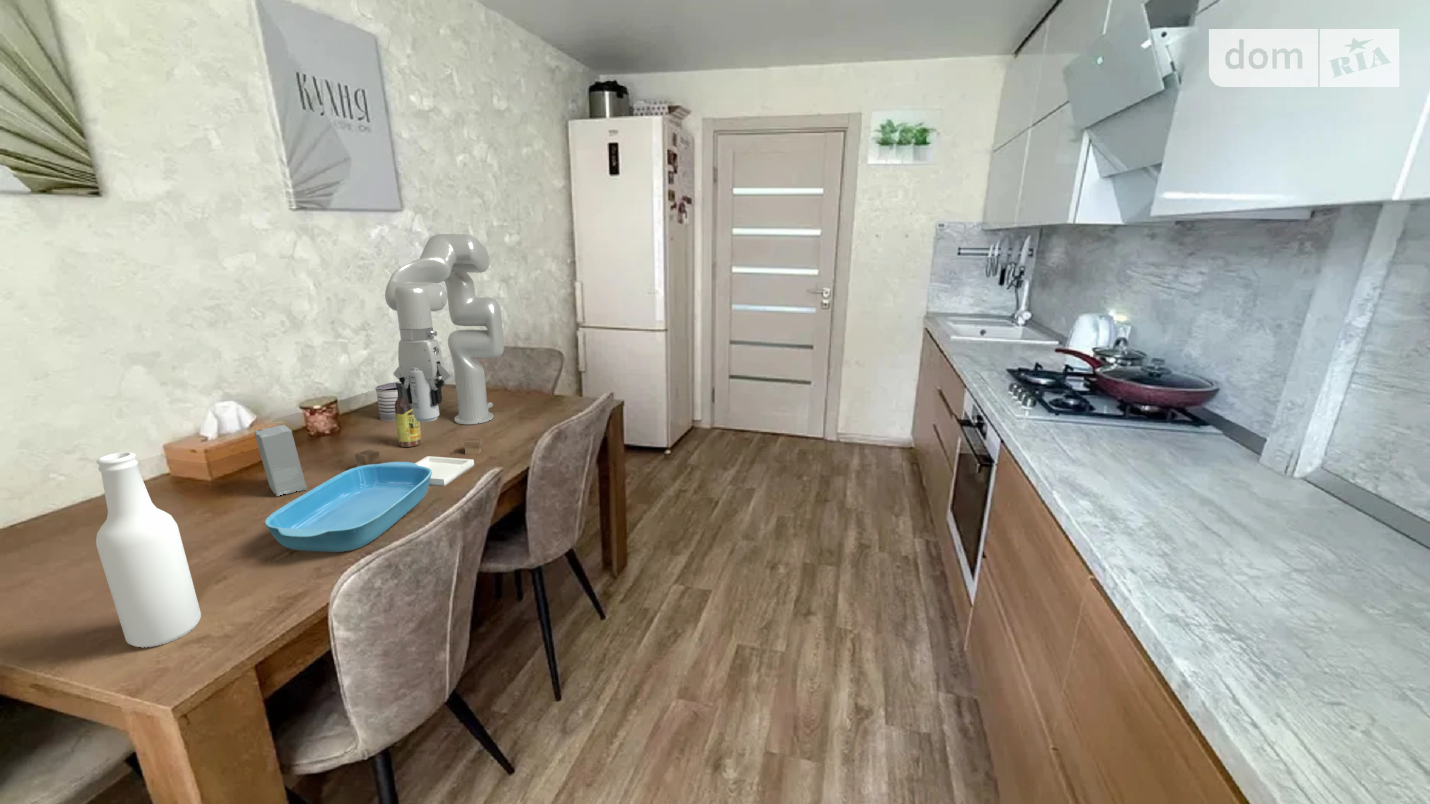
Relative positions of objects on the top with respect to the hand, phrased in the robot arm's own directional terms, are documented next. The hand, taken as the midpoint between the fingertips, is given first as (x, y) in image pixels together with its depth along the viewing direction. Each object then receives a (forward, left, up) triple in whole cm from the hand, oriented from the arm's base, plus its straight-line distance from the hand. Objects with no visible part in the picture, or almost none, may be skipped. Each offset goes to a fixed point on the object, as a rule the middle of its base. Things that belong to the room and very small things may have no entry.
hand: (425, 402), depth 148 cm
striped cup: (-44, -43, -20) cm, 64 cm away
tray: (0, +1, -20) cm, 20 cm away
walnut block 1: (+1, -18, -20) cm, 27 cm away
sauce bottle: (-19, -20, -20) cm, 34 cm away
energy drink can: (0, 0, -5) cm, 5 cm away
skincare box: (+16, -29, -20) cm, 39 cm away
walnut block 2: (-17, +2, -20) cm, 26 cm away
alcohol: (+66, -2, -20) cm, 70 cm away
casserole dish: (+27, +1, -20) cm, 34 cm away
